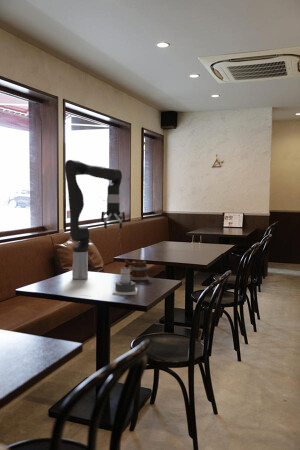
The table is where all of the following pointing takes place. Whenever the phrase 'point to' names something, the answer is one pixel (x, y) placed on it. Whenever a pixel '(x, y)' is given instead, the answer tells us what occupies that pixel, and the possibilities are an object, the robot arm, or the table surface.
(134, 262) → the mug
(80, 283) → the table surface
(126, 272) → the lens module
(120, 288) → the grey ring on base
